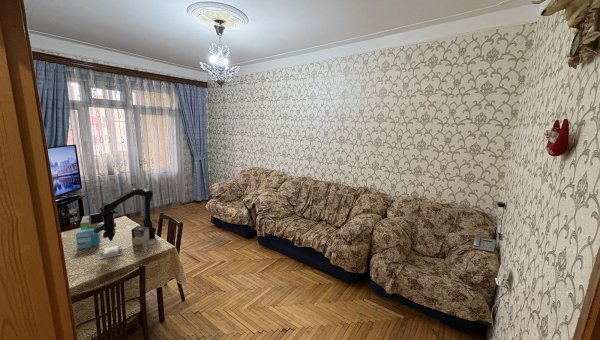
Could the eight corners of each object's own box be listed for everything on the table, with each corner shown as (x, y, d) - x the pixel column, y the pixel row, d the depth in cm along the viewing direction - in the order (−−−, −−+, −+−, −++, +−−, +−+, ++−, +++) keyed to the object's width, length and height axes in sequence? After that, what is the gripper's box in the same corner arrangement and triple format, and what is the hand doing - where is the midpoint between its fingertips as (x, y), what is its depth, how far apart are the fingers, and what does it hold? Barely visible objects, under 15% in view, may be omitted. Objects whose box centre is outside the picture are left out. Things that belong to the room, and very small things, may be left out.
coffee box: (132, 250, 179) (130, 229, 176) (138, 245, 185) (136, 225, 182) (144, 251, 179) (143, 230, 175) (150, 246, 185) (149, 226, 182)
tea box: (99, 239, 191) (97, 220, 188) (81, 242, 185) (79, 223, 182) (100, 231, 203) (98, 213, 200) (84, 233, 198) (82, 216, 194)
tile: (118, 245, 179) (118, 251, 172) (118, 247, 180) (118, 254, 173) (104, 247, 175) (103, 254, 168) (104, 250, 176) (103, 257, 168)
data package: (77, 249, 176) (75, 233, 174) (78, 246, 180) (76, 230, 177) (99, 245, 183) (97, 229, 181) (99, 242, 187) (98, 227, 184)
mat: (122, 248, 181) (122, 247, 180) (121, 255, 172) (121, 254, 172) (101, 252, 174) (101, 251, 174) (99, 259, 166) (99, 259, 166)
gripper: (95, 217, 176) (97, 237, 179) (92, 227, 161) (94, 249, 164) (115, 214, 182) (117, 234, 185) (113, 224, 167) (115, 246, 170)
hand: (111, 241), depth 176 cm, fingers closed
